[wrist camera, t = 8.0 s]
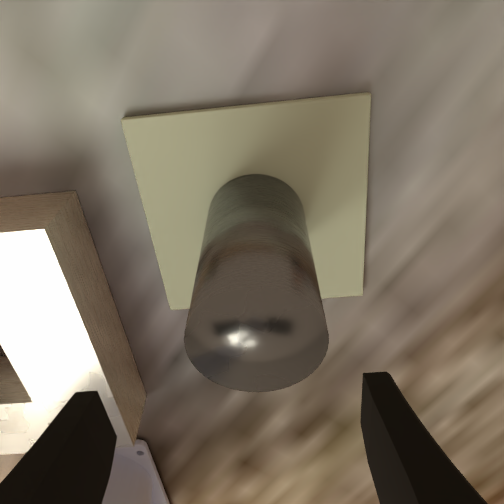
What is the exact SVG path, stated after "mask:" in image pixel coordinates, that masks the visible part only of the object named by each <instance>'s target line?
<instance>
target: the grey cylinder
mask: <svg viewBox="0 0 504 504" xmlns="http://www.w3.org/2000/svg"><path fill="white" fill-rule="evenodd" d="M184 343H185V349H186V352H187V355H188V357H189V359H190V361H191V362H192V364H193V365H194V366H195V367H196V369H197V370H198V371H199V372H200V373H202V374H203V375H204V376H205V377H207V378H208V379H210V380H211V381H213V382H215V383H217V384H219V385H222V386H224V387H227V388H231V389H234V390H239V391H247V392H267V391H274V390H279V389H283V388H286V387H289V386H291V385H294V384H296V383H298V382H300V381H302V380H303V379H305V378H306V377H308V376H309V375H310V374H312V373H313V372H314V371H315V370H316V369H317V368H318V366H319V365H320V364H321V362H322V361H323V359H324V357H325V355H326V352H327V349H328V343H329V335H328V330H327V325H326V320H325V315H324V310H323V305H322V300H321V295H320V290H319V285H318V280H317V275H316V270H315V265H314V260H313V255H312V250H311V245H310V240H309V235H308V230H307V225H306V220H305V215H304V210H303V205H302V202H301V200H300V198H299V196H298V195H297V193H296V192H295V191H294V190H293V189H292V188H291V187H290V186H289V185H288V184H287V183H285V182H284V181H282V180H280V179H278V178H275V177H273V176H269V175H264V174H248V175H243V176H240V177H237V178H234V179H232V180H231V181H229V182H227V183H226V184H224V185H223V186H222V187H221V188H220V189H219V190H218V191H217V192H216V194H215V195H214V197H213V199H212V201H211V203H210V206H209V210H208V216H207V221H206V226H205V231H204V236H203V241H202V246H201V252H200V257H199V262H198V267H197V272H196V277H195V282H194V288H193V293H192V298H191V303H190V308H189V313H188V319H187V324H186V329H185V336H184Z"/></svg>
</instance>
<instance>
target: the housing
mask: <svg viewBox="0 0 504 504" xmlns="http://www.w3.org/2000/svg"><path fill="white" fill-rule="evenodd" d="M0 345H1V346H2V348H3V350H4V352H5V353H6V355H7V356H0V455H2V454H20V453H27V452H28V450H29V449H30V448H31V447H32V446H33V444H34V443H35V442H36V441H37V439H38V438H39V437H40V436H41V434H42V433H43V432H44V431H45V429H46V428H47V427H48V426H49V424H50V423H51V422H52V421H53V419H54V418H55V417H56V416H57V414H58V413H59V412H60V411H61V409H62V408H63V407H64V406H65V404H66V403H67V402H68V401H69V399H70V398H71V397H72V396H73V395H74V393H75V392H83V391H98V393H99V396H100V398H101V400H102V403H103V405H104V407H105V410H106V412H107V414H108V417H109V419H110V421H111V424H112V426H113V428H114V431H115V433H116V435H117V441H116V447H115V448H124V447H134V444H135V440H136V436H137V432H138V428H139V425H140V421H141V417H142V413H143V409H144V405H145V401H146V397H147V395H146V392H145V389H144V386H143V383H142V380H141V377H140V375H139V372H138V369H137V366H136V363H135V360H134V357H133V354H132V352H131V349H130V346H129V343H128V340H127V337H126V334H125V331H124V329H123V326H122V323H121V320H120V317H119V314H118V311H117V308H116V306H115V303H114V300H113V297H112V294H111V291H110V288H109V285H108V283H107V280H106V277H105V274H104V271H103V268H102V265H101V262H100V260H99V257H98V254H97V251H96V248H95V245H94V242H93V239H92V237H91V234H90V231H89V228H88V225H87V222H86V219H85V217H84V214H83V211H82V208H81V205H80V202H79V199H78V196H77V194H76V191H66V192H56V193H45V194H34V195H24V196H13V197H2V198H0Z"/></svg>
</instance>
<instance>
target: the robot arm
mask: <svg viewBox="0 0 504 504" xmlns="http://www.w3.org/2000/svg"><path fill="white" fill-rule="evenodd" d="M361 428H362V433H363V439H364V444H365V449H366V454H367V459H368V464H369V467H370V471H371V474H372V477H373V481H374V484H375V488H376V491H377V495H378V498H379V501H380V504H487V502H486V501H485V500H484V499H483V498H482V497H481V496H480V495H479V494H478V492H477V491H476V490H475V489H474V488H473V487H472V486H471V484H470V483H469V482H468V481H467V480H466V479H465V477H464V476H463V475H462V474H461V473H460V471H459V470H458V469H457V468H456V467H455V465H454V464H453V463H452V462H451V460H450V459H449V458H448V457H447V455H446V454H445V453H444V452H443V450H442V449H441V448H440V446H439V445H438V444H437V443H436V441H435V440H434V439H433V437H432V436H431V435H430V433H429V432H428V431H427V429H426V428H425V427H424V425H423V424H422V422H421V421H420V420H419V418H418V417H417V415H416V414H415V412H414V411H413V410H412V408H411V407H410V405H409V404H408V402H407V401H406V399H405V398H404V396H403V395H402V393H401V391H400V390H399V388H398V387H397V385H396V383H395V382H394V380H393V378H392V377H391V375H390V374H389V373H388V372H374V373H363V384H362V404H361ZM116 441H117V435H116V433H115V431H114V428H113V426H112V424H111V421H110V419H109V417H108V414H107V412H106V410H105V407H104V405H103V403H102V400H101V398H100V396H99V393H98V391H83V392H75V393H74V395H73V396H72V397H71V398H70V399H69V401H68V402H67V403H66V404H65V406H64V407H63V408H62V409H61V411H60V412H59V413H58V414H57V416H56V417H55V418H54V419H53V421H52V422H51V423H50V424H49V426H48V427H47V428H46V429H45V431H44V432H43V433H42V434H41V436H40V437H39V438H38V439H37V441H36V442H35V443H34V444H33V446H32V447H31V448H30V449H29V450H28V452H27V453H26V454H25V455H24V456H23V458H22V459H21V460H20V461H19V462H18V464H17V465H16V466H15V467H14V468H13V470H12V471H11V472H10V473H9V474H8V475H7V476H6V478H5V479H4V480H3V481H2V482H1V483H0V504H170V503H169V500H168V498H167V495H166V492H165V490H164V487H163V485H162V482H161V479H160V477H159V474H158V472H157V469H156V466H155V464H154V461H153V458H152V456H151V453H150V451H149V448H148V445H147V443H146V442H145V441H144V440H139V439H137V440H135V444H134V447H124V448H115V447H116Z"/></svg>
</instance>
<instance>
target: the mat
mask: <svg viewBox="0 0 504 504" xmlns="http://www.w3.org/2000/svg"><path fill="white" fill-rule="evenodd" d="M370 108H371V94H370V93H369V92H365V93H355V94H346V95H336V96H326V97H316V98H307V99H297V100H287V101H278V102H268V103H258V104H249V105H239V106H229V107H220V108H210V109H200V110H191V111H181V112H171V113H162V114H152V115H142V116H133V117H123V118H122V119H121V123H122V127H123V131H124V135H125V139H126V142H127V146H128V150H129V154H130V158H131V162H132V165H133V169H134V173H135V177H136V181H137V184H138V188H139V192H140V196H141V200H142V203H143V207H144V211H145V215H146V219H147V222H148V226H149V230H150V234H151V238H152V241H153V245H154V249H155V253H156V257H157V260H158V264H159V268H160V272H161V276H162V279H163V283H164V287H165V291H166V295H167V299H168V302H169V306H170V310H178V309H189V308H190V303H191V298H192V293H193V288H194V282H195V277H196V272H197V267H198V262H199V257H200V252H201V246H202V241H203V236H204V231H205V226H206V221H207V216H208V210H209V206H210V203H211V201H212V199H213V197H214V195H215V194H216V192H217V191H218V190H219V189H220V188H221V187H222V186H223V185H224V184H226V183H227V182H229V181H231V180H232V179H234V178H237V177H240V176H243V175H248V174H264V175H269V176H273V177H275V178H278V179H280V180H282V181H284V182H285V183H287V184H288V185H289V186H290V187H291V188H292V189H293V190H294V191H295V192H296V193H297V195H298V196H299V198H300V200H301V202H302V205H303V210H304V215H305V220H306V225H307V230H308V235H309V240H310V245H311V250H312V255H313V260H314V265H315V270H316V275H317V280H318V285H319V290H320V295H321V299H323V298H336V297H349V296H362V295H363V274H364V250H365V226H366V202H367V179H368V155H369V131H370Z"/></svg>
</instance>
